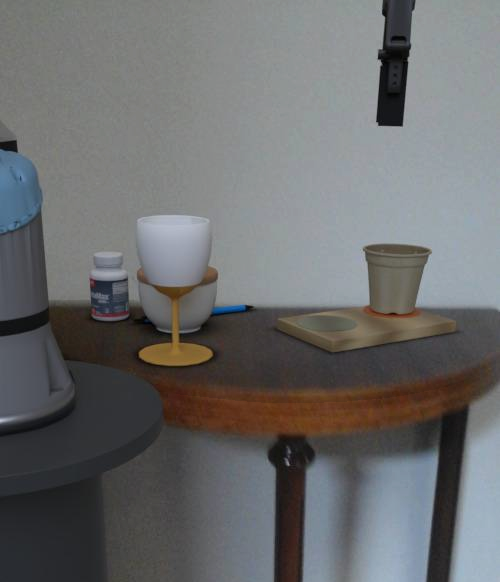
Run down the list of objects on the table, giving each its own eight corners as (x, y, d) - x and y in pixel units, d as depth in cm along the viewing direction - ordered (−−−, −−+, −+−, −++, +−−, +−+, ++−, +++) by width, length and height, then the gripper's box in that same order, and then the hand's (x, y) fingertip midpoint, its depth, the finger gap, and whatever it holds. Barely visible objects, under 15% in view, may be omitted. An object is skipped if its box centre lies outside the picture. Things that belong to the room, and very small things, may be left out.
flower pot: (371, 299, 123) (376, 240, 120) (433, 307, 119) (440, 246, 116) (348, 312, 116) (352, 250, 112) (414, 321, 112) (420, 257, 108)
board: (332, 352, 103) (332, 340, 103) (276, 329, 113) (276, 317, 112) (455, 331, 113) (456, 320, 113) (394, 311, 123) (395, 301, 123)
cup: (123, 359, 99) (117, 221, 93) (164, 341, 107) (161, 212, 100) (189, 370, 96) (187, 228, 89) (226, 351, 103) (227, 218, 97)
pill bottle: (83, 317, 117) (80, 253, 114) (112, 310, 121) (109, 249, 117) (108, 324, 114) (105, 258, 111) (137, 317, 118) (134, 254, 114)
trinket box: (126, 334, 109) (123, 262, 106) (156, 315, 119) (154, 248, 115) (203, 341, 107) (202, 268, 103) (227, 321, 116) (228, 253, 113)
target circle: (388, 320, 112) (388, 319, 112) (351, 308, 119) (351, 307, 119) (432, 313, 116) (432, 313, 116) (394, 302, 123) (394, 301, 123)
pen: (132, 318, 115) (134, 315, 114) (252, 305, 123) (255, 301, 122) (133, 324, 115) (135, 321, 114) (253, 310, 123) (257, 307, 122)
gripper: (452, -114, 78) (428, 128, 86) (432, -66, 101) (414, 122, 109) (371, -114, 78) (355, 126, 87) (369, -66, 101) (357, 120, 110)
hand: (388, 124), depth 98 cm, fingers open, 13 cm apart
